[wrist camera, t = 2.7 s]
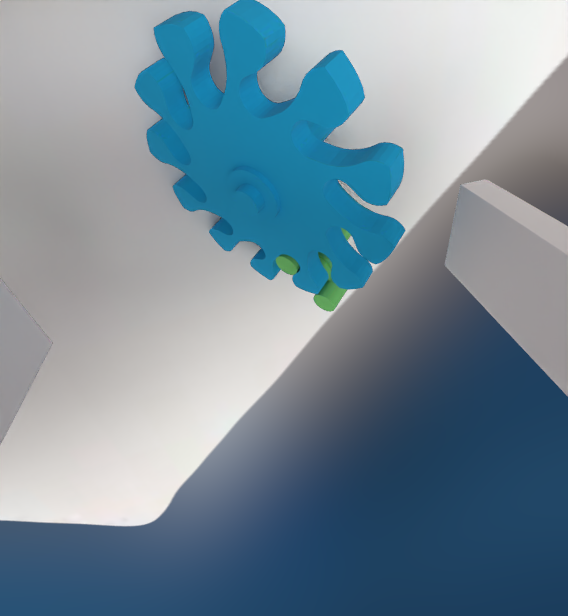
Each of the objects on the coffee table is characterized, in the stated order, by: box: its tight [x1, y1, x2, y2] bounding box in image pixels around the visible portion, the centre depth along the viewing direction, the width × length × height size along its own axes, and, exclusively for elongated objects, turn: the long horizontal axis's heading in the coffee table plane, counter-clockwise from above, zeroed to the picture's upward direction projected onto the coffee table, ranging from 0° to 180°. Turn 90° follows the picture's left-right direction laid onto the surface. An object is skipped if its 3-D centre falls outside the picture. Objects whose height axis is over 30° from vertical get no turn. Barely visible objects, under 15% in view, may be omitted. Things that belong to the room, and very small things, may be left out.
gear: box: [135, 0, 405, 311], centre depth 13 cm, size 11×6×10 cm
